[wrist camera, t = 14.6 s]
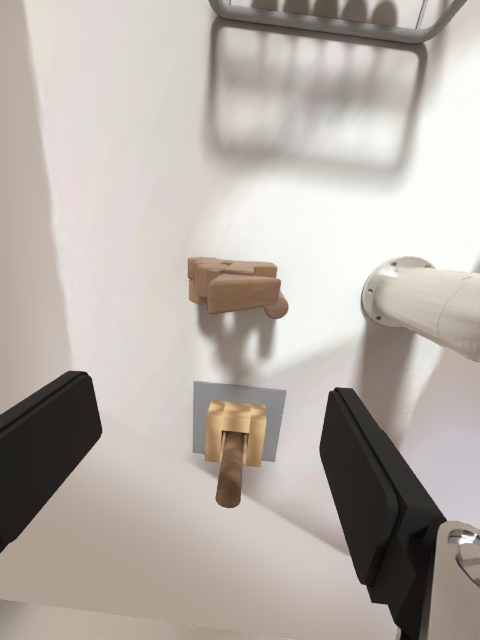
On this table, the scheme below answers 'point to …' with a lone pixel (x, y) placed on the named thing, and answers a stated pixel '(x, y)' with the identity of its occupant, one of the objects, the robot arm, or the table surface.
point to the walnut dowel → (231, 470)
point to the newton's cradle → (337, 22)
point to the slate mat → (241, 395)
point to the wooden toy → (235, 286)
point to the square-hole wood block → (235, 429)
